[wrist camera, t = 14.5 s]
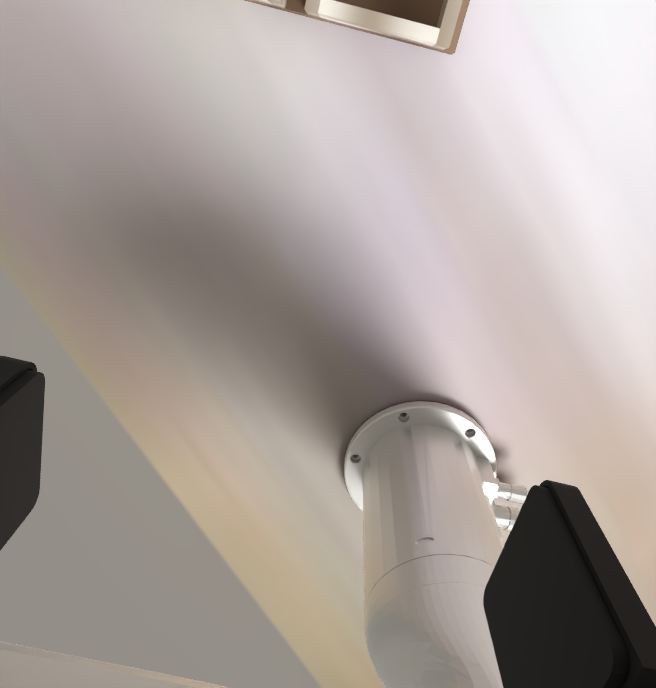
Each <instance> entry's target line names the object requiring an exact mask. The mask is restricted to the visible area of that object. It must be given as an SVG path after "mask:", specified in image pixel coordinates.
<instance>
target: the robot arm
mask: <svg viewBox="0 0 656 688" xmlns="http://www.w3.org/2000/svg"><path fill="white" fill-rule="evenodd" d="M44 391H45V377H44V374H43V373H40V372H37V368H36V365H35V364H34V363H32V362H27V361H23V360H18V359H14V358H10V357H6V356H0V550H1V549H2V548H3V546H4V545H5V544H6V543H7V541H8V540H9V539H10V537H11V536H12V535H13V534H14V532H15V531H16V530H17V528H18V527H19V526H20V524H21V523H22V522H23V521H24V520H25V518H26V517H27V516H28V514H29V513H30V512H31V510H32V509H33V507H34V505H35V503H36V501H37V498H38V495H39V489H40V471H41V470H40V469H41V451H42V431H43V411H44V410H43V409H44ZM401 413H405V414H401ZM469 428H471V429H469ZM354 454H357V455H354ZM496 475H497V461H496V457H495V452H494V449H493V446H492V444H491V441H490V439H489V437H488V436H487V434H486V433H485V431H484V429H483V428H482V427H481V426H480V425H479V424H478V423H477V422H476V421H475V420H474V419H473V418H472V417H470V416H469V415H467V414H466V413H464V412H463V411H461V410H458V409H456V408H454V407H451V406H449V405H445V404H441V403H436V402H426V401H416V402H407V403H402V404H398V405H395V406H391V407H389V408H387V409H385V410H382V411H380V412H378V413H376V414H375V415H374V416H372V417H371V418H370V419H368V420H367V421H365V423H364V424H363V425H362V426H361V427H360V428H359V429H358V430H357V431H356V433H355V434H354V436H353V437H352V439H351V441H350V442H349V445H348V448H347V451H346V454H345V462H344V478H345V483H346V487H347V490H348V492H349V494H350V496H351V499H352V500H353V502H354V503H355V504H356V506H357V507H358V508H359V509H360V510H361V511H362V512H363V541H364V612H365V636H366V644H367V648H368V652H369V656H370V659H371V661H372V663H373V666H374V668H375V670H376V672H377V674H378V676H379V678H380V679H381V681H382V682H383V684H384V685H385V687H386V688H656V627H655V625H654V623H653V621H652V619H651V618H650V616H649V614H648V612H647V611H646V609H645V607H644V605H643V603H642V602H641V600H640V598H639V596H638V594H637V593H636V591H635V589H634V587H633V585H632V584H631V582H630V580H629V578H628V576H627V575H626V573H625V571H624V569H623V568H622V566H621V564H620V562H619V560H618V559H617V557H616V555H615V553H614V551H613V550H612V548H611V546H610V544H609V542H608V541H607V539H606V537H605V535H604V533H603V532H602V530H601V528H600V526H599V525H598V523H597V521H596V519H595V517H594V516H593V514H592V512H591V510H590V508H589V507H588V505H587V503H586V501H585V499H584V498H583V496H582V494H581V492H580V491H579V489H578V488H577V487H575V486H571V485H567V484H562V483H558V482H553V481H549V480H546V481H543V482H542V483H541V484H540V486H537V485H535V486H533V487H532V488H531V489H530V491H529V493H528V495H527V488H526V487H524V486H519V485H515V484H507V483H502V482H500V481H499V479H498V478H496ZM496 498H502V499H506V500H507V501H511V502H516V503H520V504H523V506H522V508H521V509H517V508H513V507H503V506H499V505H495V503H494V501H493V500H495V499H496ZM499 528H502V529H504V530H506V531H510V534H509V536H508V539H507V541H506V543H505V545H504V543H503V540H502V536H501V533H500V530H499ZM0 688H231V687H226V686H221V685H216V684H212V683H207V682H202V681H196V680H192V679H187V678H182V677H177V676H171V675H167V674H162V673H157V672H152V671H147V670H142V669H137V668H132V667H127V666H122V665H117V664H112V663H107V662H102V661H97V660H92V659H86V658H82V657H77V656H71V655H67V654H61V653H57V652H51V651H47V650H41V649H36V648H31V647H26V646H21V645H16V644H11V643H6V642H1V641H0Z"/></svg>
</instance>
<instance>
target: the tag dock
mask: <svg viewBox="0 0 656 688" xmlns="http://www.w3.org/2000/svg"><path fill="white" fill-rule="evenodd" d="M246 1H249V2H253V3H257V4H261V5H265V6H269V7H272V8H276V9H280V10H284V11H288V12H291V13H295V14H299V15H303V16H307V17H310V18H314V19H318V20H322V21H326V22H329V23H333V24H337V25H341V26H345V27H348V28H352V29H356V30H360V31H364V32H367V33H371V34H375V35H379V36H383V37H386V38H390V39H394V40H398V41H402V42H405V43H409V44H413V45H417V46H421V47H424V48H428V49H432V50H436V51H440V52H443V53H447V54H453V53H455V50H456V46H457V43H458V39H459V36H460V32H461V29H462V25H463V22H464V18H465V15H466V12H467V8H468V5H469V1H470V0H246Z"/></svg>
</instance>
